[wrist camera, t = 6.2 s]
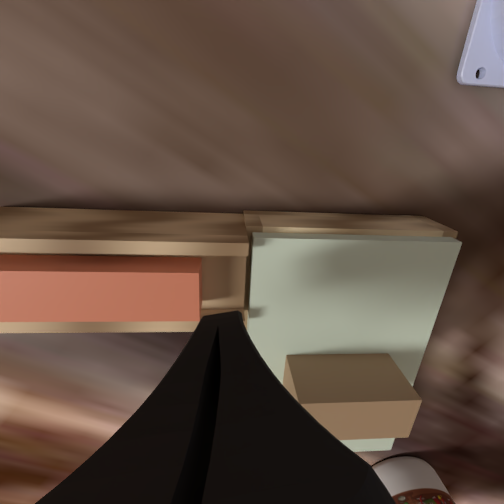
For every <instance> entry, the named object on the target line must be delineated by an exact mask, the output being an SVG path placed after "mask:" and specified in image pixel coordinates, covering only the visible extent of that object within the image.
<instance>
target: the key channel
mask: <svg viewBox="0 0 504 504" xmlns="http://www.w3.org/2000/svg"><path fill="white" fill-rule="evenodd" d="M248 251H249V241H248V236H247V231H246V226H245V221H244V216H243V214H235V213H201V212H168V211H134V210H101V209H67V208H34V207H0V255H63V256H127V257H191V258H202V307H201V315H200V320H201V318H202V317H203V316H206V315H212V314H218V313H224V312H230V311H237V310H238V311H240V312H241V313H242V318H243V322H244V325H245V317H244V294H245V274H246V256H248ZM199 322H200V321H151V322H0V333H82V332H194V330H195V329H196V327H197V325H198V323H199Z"/></svg>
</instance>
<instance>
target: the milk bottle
mask: <svg viewBox="0 0 504 504" xmlns="http://www.w3.org/2000/svg"><path fill="white" fill-rule="evenodd" d="M372 468H373V469H374V471H375V472H376V474H377V475H378V477H379V478H380V479H381V481H382V482H383V484H384V485H385V487H386V488H387V490H388V491H389V493H390V495H391V496H392V498H393V499H394V501H395V503H396V504H455V502H454V501H453V499H452V497H451V496H450V494H449V492H448V491H447V489H446V488H445V486H444V484H443V483H442V481H441V479H440V478H439V476H438V475H437V473H436V472H435V470H434V469H433V468H432V467H431V466H430V465H429V464H428V463H427V462H425V461H424V460H422V459H420V458H416V457H409V456H403V457H395V458H390V459H387V460H384V461H382V462H380V463H378V464H375V465H374V466H372Z"/></svg>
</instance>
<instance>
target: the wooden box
mask: <svg viewBox="0 0 504 504" xmlns="http://www.w3.org/2000/svg"><path fill="white" fill-rule="evenodd" d="M243 216H244V221H245V226H246V231H247V236H248V241H249V251H248V256H246V274H245V294H244V317H245V327H246V330H247V319H248V301H249V283H250V265H251V247H252V232H262V233H304V234H345V235H387V236H429V237H452V238H454V239H456V237H457V234H458V231H456V230H453V229H451V228H449V227H447V226H444V225H442V224H440V223H438V222H435V221H433V220H431V219H429V218H426V217H424V216H409V215H377V214H345V213H312V212H280V211H248V210H243Z"/></svg>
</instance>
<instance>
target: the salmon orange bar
mask: <svg viewBox="0 0 504 504" xmlns="http://www.w3.org/2000/svg"><path fill="white" fill-rule="evenodd" d="M201 307H202V258H191V257H127V256H63V255H0V322H151V321H200V315H201Z"/></svg>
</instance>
